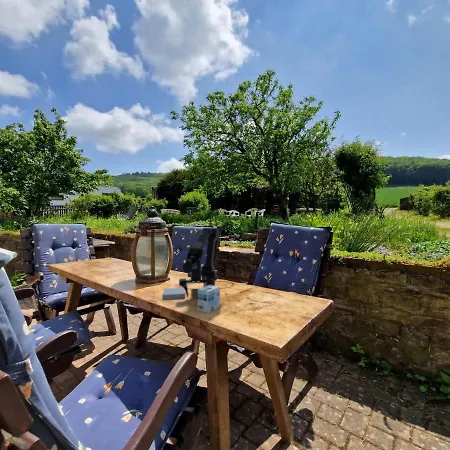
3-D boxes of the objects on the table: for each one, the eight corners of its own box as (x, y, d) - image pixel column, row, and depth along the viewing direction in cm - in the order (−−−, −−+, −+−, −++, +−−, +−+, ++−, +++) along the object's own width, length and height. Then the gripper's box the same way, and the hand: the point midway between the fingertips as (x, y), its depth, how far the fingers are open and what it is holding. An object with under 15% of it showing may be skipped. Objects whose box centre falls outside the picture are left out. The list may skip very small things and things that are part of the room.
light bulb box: (208, 313, 125) (208, 291, 125) (197, 310, 129) (197, 289, 128) (220, 307, 134) (220, 286, 134) (209, 304, 138) (209, 284, 137)
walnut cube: (199, 297, 150) (199, 288, 150) (200, 299, 145) (200, 291, 145) (191, 297, 149) (191, 288, 149) (191, 300, 144) (191, 291, 144)
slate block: (184, 292, 160) (184, 287, 159) (185, 298, 148) (185, 293, 148) (163, 293, 157) (163, 288, 157) (163, 300, 145) (163, 294, 145)
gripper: (210, 265, 156) (210, 291, 157) (178, 266, 152) (178, 293, 153) (213, 269, 145) (213, 297, 146) (179, 271, 141) (179, 299, 142)
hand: (195, 296), depth 147 cm, fingers open, 9 cm apart
